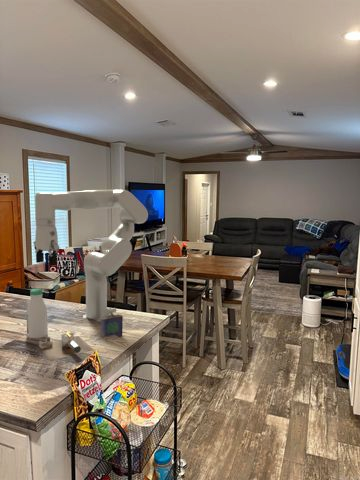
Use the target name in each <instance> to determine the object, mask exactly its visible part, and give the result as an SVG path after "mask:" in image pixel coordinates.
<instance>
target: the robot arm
mask: <svg viewBox="0 0 360 480" xmlns="http://www.w3.org/2000/svg"><path fill="white" fill-rule="evenodd" d="M34 199H35V200H34V201H35V203H34V204H35V205H34V206H35V207H34V208H35V238H34V239H35V240H34V241H33V246H34V250H35V251H34V252H35V253H34V254H35V262H36V263H37V264H39V263H44V262H45V259H44V257H45V256H44V252H48V255H49V256H48V266H49V267H53V266H54V267H55V266H57V265H58V253H59V250H60V245H59V240H58V238H59V237H58V231H57V226H56V210H57V211H67V212H68V211H71V210H72V209H83V210H102V209H114V208H115V209H116V208H117V209H120V210H119V215H118V216H119V224H118V227H116V229H115V230H114V231H113V232H112V233H111V234H110V235H109V236H108V237H107V238H106V239H105V240H104V241H103V243H102V244H101V251H102V252H103V253H102V252H99V251H91V252H89V253H87V254H86V256H85V257H84V258H83V259H84V260H83V268H84V275H85V313H84V314H83V315H82V319H87V318H88V319H89V320H94V321H95V322H97V323H99V324H101V318H104V317H108V316H109V315H110V312H113V313H116V312H117V308H116V307H113V308H112V307H108V306H107V305H108V304H107V303H108V281H107V277H109V276H112V275H113V274H115V273H116V272H117V271H118V270H119V269H120V267H122V265H124V264H125V262H126V261H127V260H128V259H129V257H130V256H131V254H132V252H133V251H132V250H133V245H132V242H131V239H132V238H133V237H134V234H135V224H138V225H140V224H144V223H145V222H146V221H148V218H149V213H148V210H147V208H146V206H144V204H143V203H142V202H140V200H139V199H138V198H137V197H136V196H135V195H134V194H133V193H132V192H130V191H129V190H127V189H94V190H93V189H91V190H89V189H87V190H81V191H77V190H76V191H55V192H37V193H35V196H34Z"/></svg>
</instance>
